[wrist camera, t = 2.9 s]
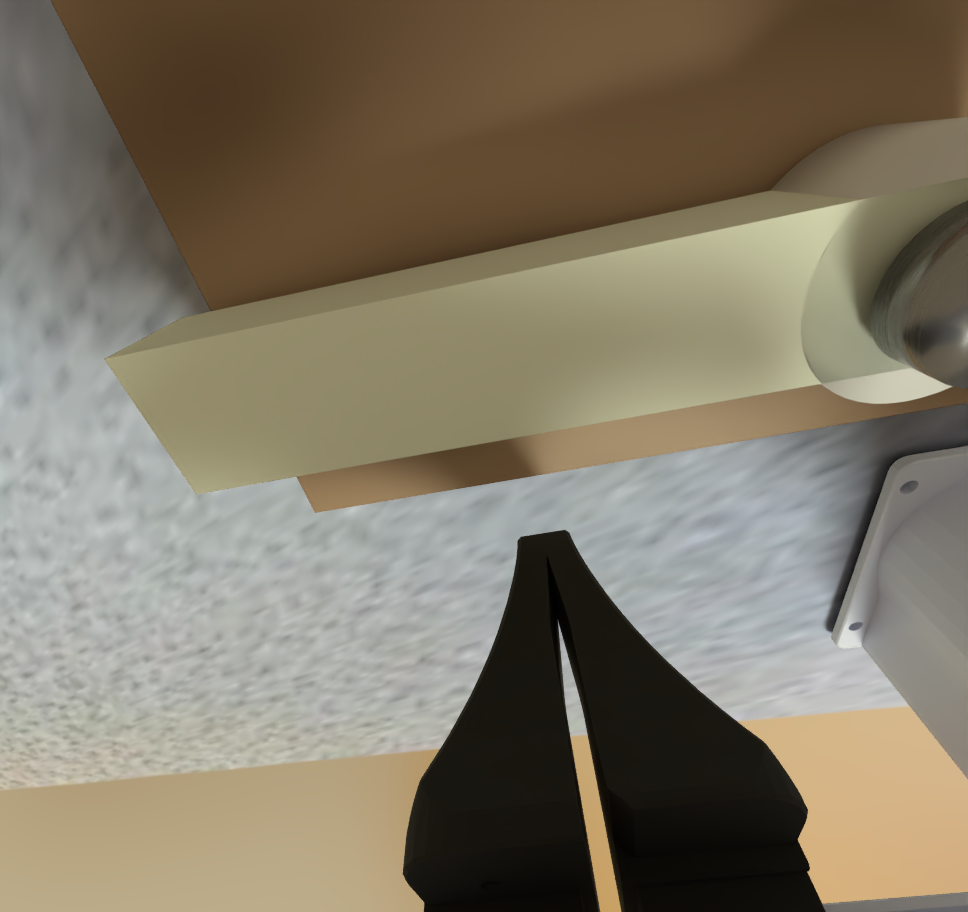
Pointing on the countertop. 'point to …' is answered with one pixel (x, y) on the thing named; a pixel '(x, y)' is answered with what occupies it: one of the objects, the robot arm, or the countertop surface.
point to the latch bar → (560, 326)
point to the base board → (496, 153)
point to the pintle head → (928, 301)
